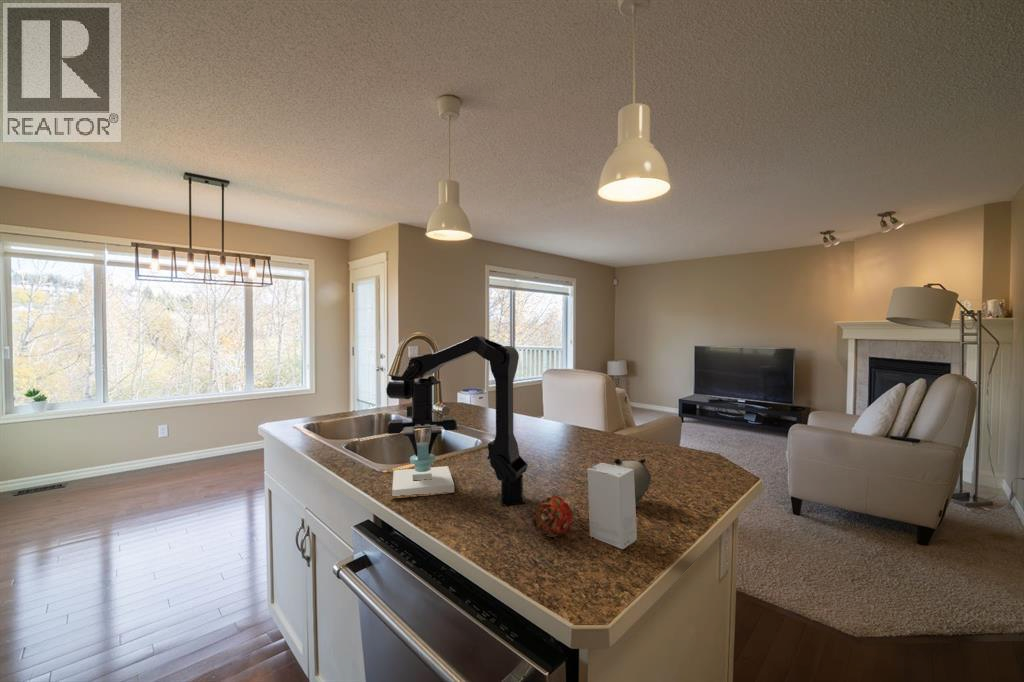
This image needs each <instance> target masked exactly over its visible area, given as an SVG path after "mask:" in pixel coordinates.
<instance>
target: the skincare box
mask: <svg viewBox="0 0 1024 682" xmlns="http://www.w3.org/2000/svg"><path fill="white" fill-rule="evenodd" d="M586 471H587V489H588V490H587V493H588V494H587V495H588V518H589V519H588V520H589V537H590V536H591V538H592V537H594V538H593V539H595V538H596V539H595V540H598V541H600V542H603V543H606V544H608V545H610V546H613V547H616V548H618V549H620V550H624V549H626V547H628V546H630V545H632V544H633V543H635V542H636V541H637V538H638V536H637V535H638V534H637V533H638V532H637V513H636V512H637V509H636V508H637V507H636V506H635V484H634V469H629V468H624V467H619V466H615V464H610V463H605V462H599V463H597V464H594V465H593V466H591V467H588V468H587V470H586Z"/></svg>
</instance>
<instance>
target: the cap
mask: <svg viewBox="0 0 1024 682" xmlns="http://www.w3.org/2000/svg"><path fill="white" fill-rule="evenodd" d="M416 444H417V456H416V455H415V454H414V455H412V456H410V457H409V463H410V464H412V465H414V469H415V471H417V472H426V471H429V470H431V467H432V463H434V462H435V461H436V455H435V454H432V453H430V455H429V446H428V444H429V441H426V442H424V441H423V442H416Z"/></svg>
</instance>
